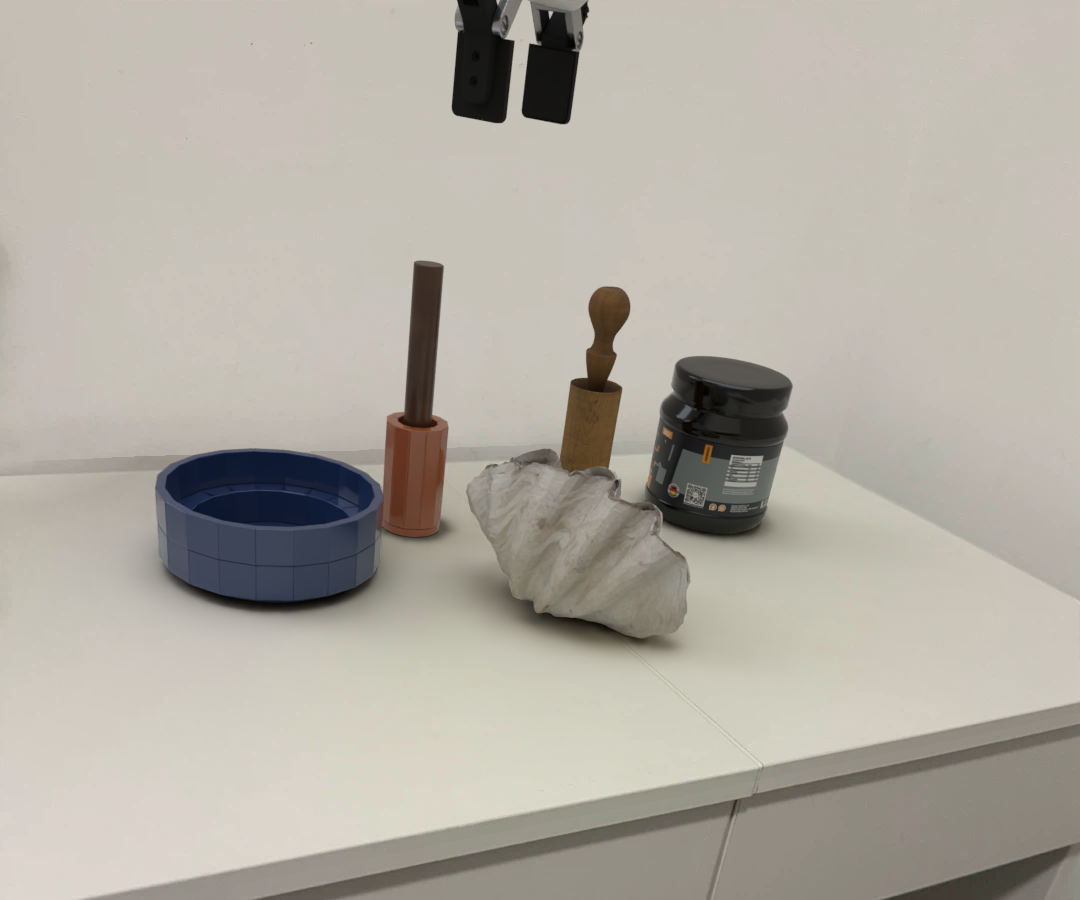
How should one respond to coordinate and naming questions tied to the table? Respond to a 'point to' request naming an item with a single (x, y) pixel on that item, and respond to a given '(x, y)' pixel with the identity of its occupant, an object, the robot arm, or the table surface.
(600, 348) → the mortar and pestle
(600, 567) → the seashell
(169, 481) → the bowl
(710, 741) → the table surface
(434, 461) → the holder
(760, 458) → the supplement container
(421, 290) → the stick
